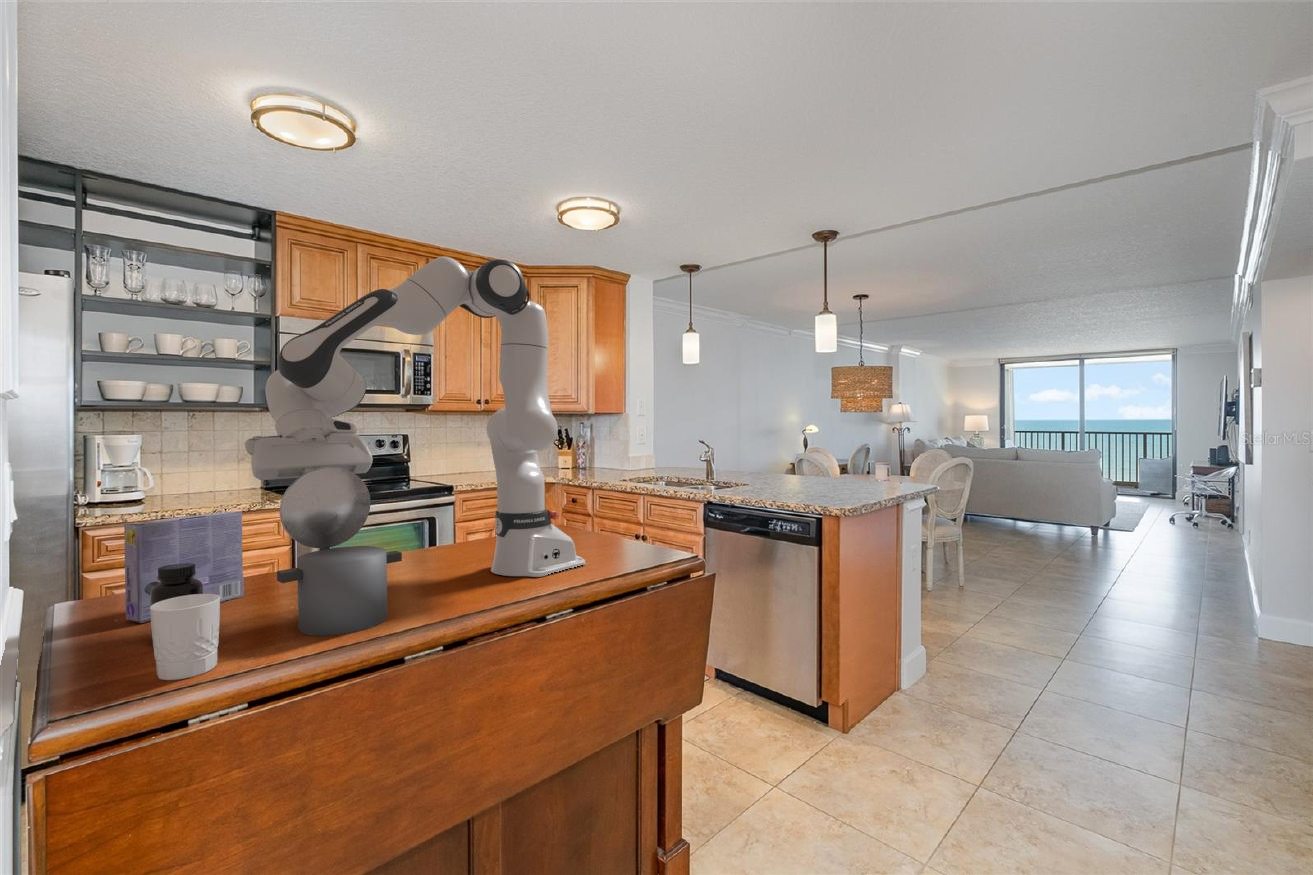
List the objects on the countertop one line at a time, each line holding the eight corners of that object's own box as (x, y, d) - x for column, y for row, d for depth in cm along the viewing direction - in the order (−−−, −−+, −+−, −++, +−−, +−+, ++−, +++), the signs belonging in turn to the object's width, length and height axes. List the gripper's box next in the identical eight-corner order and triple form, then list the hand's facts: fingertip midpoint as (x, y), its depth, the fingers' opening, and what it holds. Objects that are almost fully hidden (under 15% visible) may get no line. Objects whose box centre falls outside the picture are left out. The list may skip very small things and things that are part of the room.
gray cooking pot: (383, 600, 118) (381, 540, 117) (417, 615, 109) (416, 550, 108) (267, 627, 103) (265, 558, 102) (295, 647, 94) (294, 572, 93)
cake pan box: (235, 592, 124) (232, 508, 123) (250, 595, 122) (248, 509, 121) (123, 621, 106) (120, 523, 105) (139, 625, 104) (136, 525, 103)
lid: (369, 541, 116) (365, 539, 117) (371, 465, 114) (368, 464, 115) (281, 554, 104) (278, 552, 105) (283, 470, 103) (280, 469, 104)
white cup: (167, 687, 80) (165, 614, 80) (141, 675, 84) (139, 605, 83) (232, 666, 87) (231, 598, 86) (205, 655, 91) (203, 590, 90)
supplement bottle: (207, 638, 98) (205, 566, 97) (153, 649, 93) (150, 573, 93) (201, 627, 103) (199, 559, 102) (149, 638, 98) (147, 566, 97)
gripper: (245, 425, 107) (264, 484, 101) (363, 424, 122) (384, 475, 116) (239, 448, 110) (256, 507, 104) (354, 444, 125) (375, 495, 119)
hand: (325, 490), depth 110 cm, fingers closed, pressing on lid
